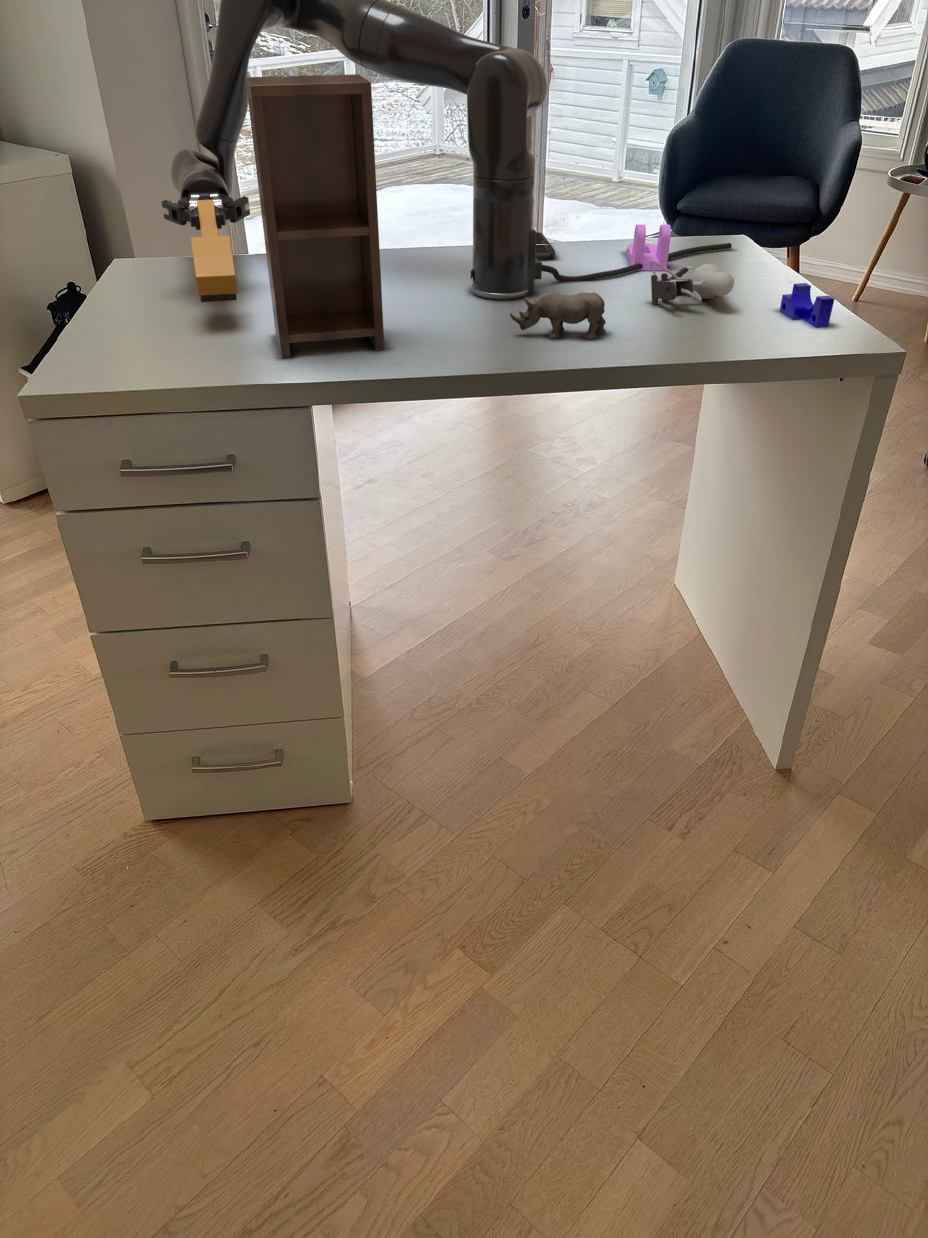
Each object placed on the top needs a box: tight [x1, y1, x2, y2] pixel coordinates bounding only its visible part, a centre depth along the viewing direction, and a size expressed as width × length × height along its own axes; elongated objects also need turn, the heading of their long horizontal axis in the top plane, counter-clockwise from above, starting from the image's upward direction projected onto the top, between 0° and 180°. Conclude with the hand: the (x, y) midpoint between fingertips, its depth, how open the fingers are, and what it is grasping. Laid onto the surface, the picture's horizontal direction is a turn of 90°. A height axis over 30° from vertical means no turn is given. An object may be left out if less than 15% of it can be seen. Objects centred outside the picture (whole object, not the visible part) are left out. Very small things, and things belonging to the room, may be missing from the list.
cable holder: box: [779, 282, 835, 328], centre depth 138 cm, size 8×4×4 cm, turn 13°
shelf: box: [246, 74, 385, 359], centre depth 121 cm, size 14×9×32 cm, turn 104°
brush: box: [190, 200, 238, 303], centre depth 135 cm, size 5×18×5 cm, turn 14°
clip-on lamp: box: [650, 260, 735, 305], centre depth 146 cm, size 12×6×18 cm
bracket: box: [626, 224, 672, 271], centre depth 163 cm, size 13×6×7 cm, turn 179°
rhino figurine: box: [509, 291, 607, 340], centre depth 131 cm, size 4×14×6 cm, turn 89°
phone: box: [535, 231, 556, 261], centre depth 171 cm, size 8×1×15 cm
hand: (208, 221), depth 136 cm, fingers closed on brush, 2 cm apart
